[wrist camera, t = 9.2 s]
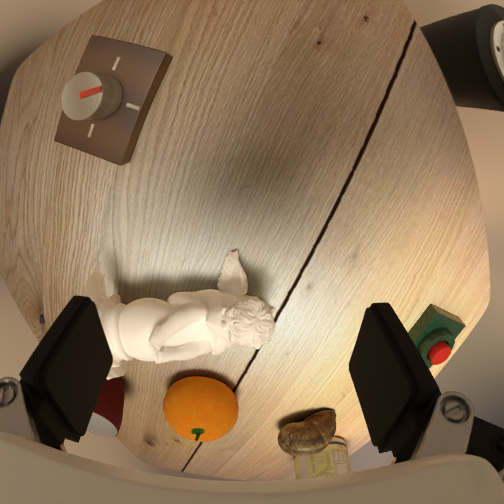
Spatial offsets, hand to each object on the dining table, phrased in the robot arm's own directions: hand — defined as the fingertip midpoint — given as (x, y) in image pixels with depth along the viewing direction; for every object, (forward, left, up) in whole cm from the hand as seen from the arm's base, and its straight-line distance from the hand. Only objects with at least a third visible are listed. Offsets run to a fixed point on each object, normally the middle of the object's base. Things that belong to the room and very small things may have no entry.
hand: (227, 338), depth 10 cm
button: (+8, +37, -19) cm, 42 cm away
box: (+8, +37, -23) cm, 44 cm away
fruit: (+32, +8, -23) cm, 41 cm away
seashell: (+34, +29, -23) cm, 50 cm away
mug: (+37, -8, -23) cm, 45 cm away
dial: (-4, -16, -20) cm, 26 cm away
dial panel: (-4, -16, -23) cm, 28 cm away
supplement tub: (+44, +39, -23) cm, 63 cm away
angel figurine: (+14, 0, -23) cm, 27 cm away
